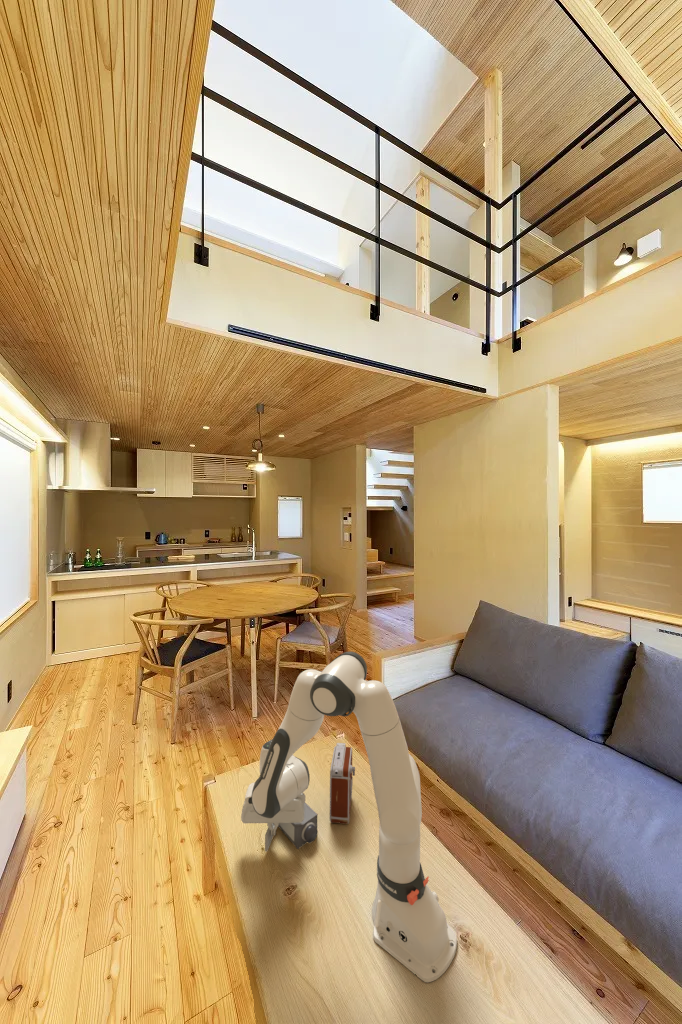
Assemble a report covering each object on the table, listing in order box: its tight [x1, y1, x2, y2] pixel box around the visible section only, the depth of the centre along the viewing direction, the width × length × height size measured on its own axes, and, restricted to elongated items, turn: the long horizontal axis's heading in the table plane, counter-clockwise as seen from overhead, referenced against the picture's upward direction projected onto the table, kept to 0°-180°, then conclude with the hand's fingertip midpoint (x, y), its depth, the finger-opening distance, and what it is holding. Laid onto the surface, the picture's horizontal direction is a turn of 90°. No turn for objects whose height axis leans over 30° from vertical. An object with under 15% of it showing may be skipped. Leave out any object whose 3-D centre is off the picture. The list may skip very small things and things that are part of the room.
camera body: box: [277, 802, 319, 850], centre depth 127 cm, size 14×8×8 cm, turn 42°
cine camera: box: [329, 742, 356, 825], centre depth 139 cm, size 9×19×20 cm, turn 174°
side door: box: [264, 823, 275, 853], centre depth 124 cm, size 10×1×6 cm, turn 171°
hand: (273, 833), depth 121 cm, fingers closed, pressing on side door
